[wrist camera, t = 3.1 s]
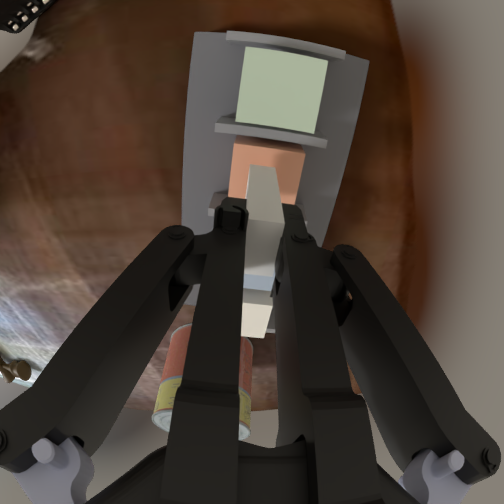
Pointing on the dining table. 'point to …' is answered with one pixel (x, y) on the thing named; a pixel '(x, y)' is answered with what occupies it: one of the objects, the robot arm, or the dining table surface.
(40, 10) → the battery charger
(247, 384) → the canned food
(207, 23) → the dining table surface
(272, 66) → the key sage
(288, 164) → the key terracotta
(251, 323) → the key ivory
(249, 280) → the key slate
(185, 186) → the keypad
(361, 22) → the dining table surface
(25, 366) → the kendama
